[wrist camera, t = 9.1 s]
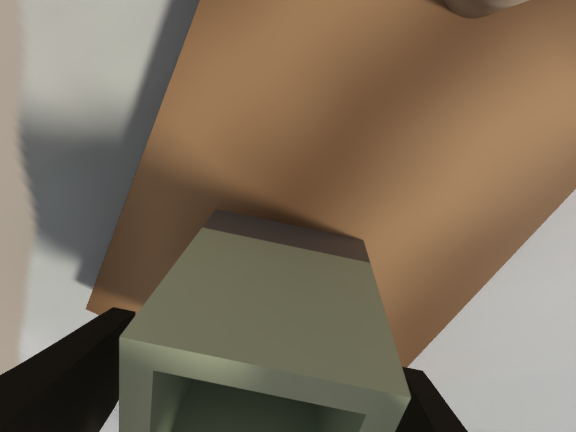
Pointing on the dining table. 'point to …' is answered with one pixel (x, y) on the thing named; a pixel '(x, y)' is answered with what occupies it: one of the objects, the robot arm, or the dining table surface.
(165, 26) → the dining table surface
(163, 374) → the sleeve
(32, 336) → the dining table surface
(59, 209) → the dining table surface
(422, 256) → the pin board
